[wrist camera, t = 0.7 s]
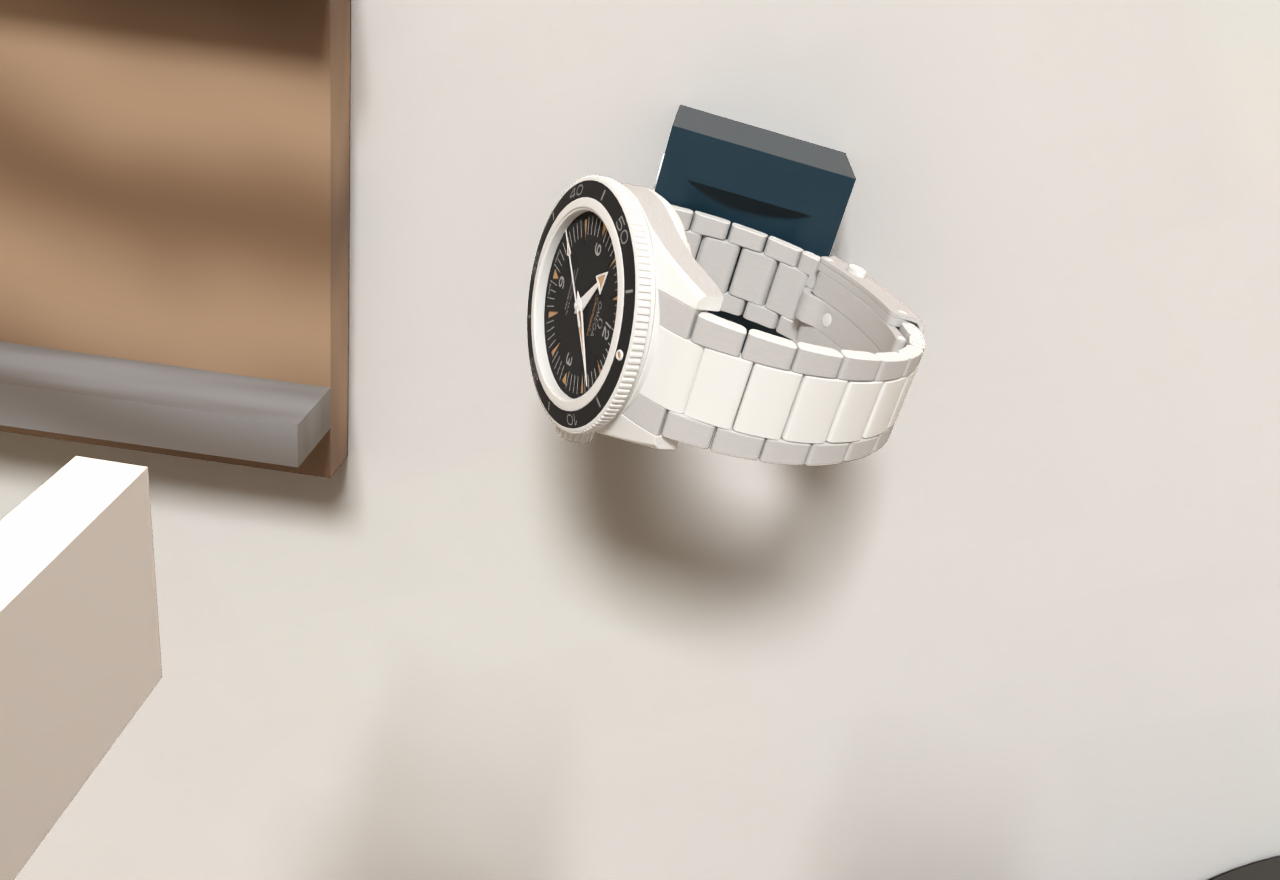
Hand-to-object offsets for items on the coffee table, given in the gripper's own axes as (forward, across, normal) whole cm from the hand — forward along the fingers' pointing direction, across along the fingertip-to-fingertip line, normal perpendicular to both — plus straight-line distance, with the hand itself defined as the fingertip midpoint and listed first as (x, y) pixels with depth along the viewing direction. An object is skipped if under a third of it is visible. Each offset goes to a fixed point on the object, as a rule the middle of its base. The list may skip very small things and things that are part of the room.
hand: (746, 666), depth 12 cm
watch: (+20, 0, +1) cm, 20 cm away
